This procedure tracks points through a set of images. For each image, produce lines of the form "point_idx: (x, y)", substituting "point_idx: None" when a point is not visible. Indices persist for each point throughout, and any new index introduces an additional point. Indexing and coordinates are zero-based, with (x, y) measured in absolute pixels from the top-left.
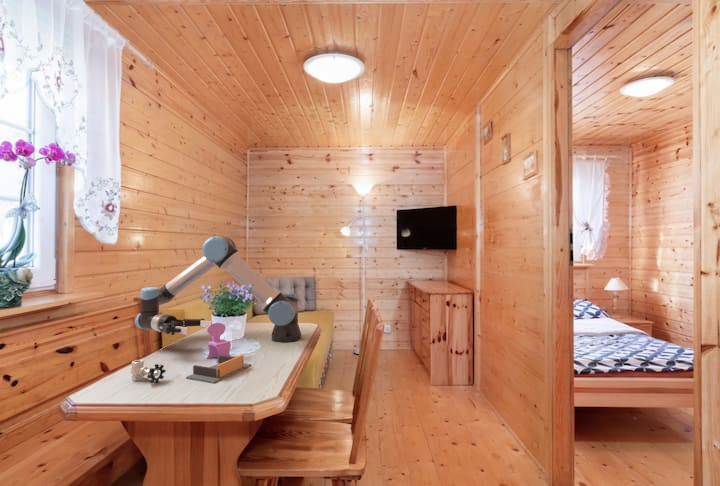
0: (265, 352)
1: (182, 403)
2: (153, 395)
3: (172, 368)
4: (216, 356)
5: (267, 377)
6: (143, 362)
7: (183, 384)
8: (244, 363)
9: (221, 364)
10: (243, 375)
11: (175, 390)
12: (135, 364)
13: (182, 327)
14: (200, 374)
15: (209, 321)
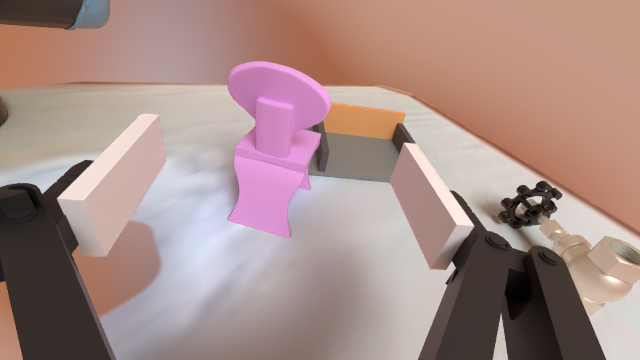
0: (164, 130)
1: (483, 142)
2: None
3: (440, 273)
4: (248, 222)
5: (332, 99)
6: (595, 246)
7: (458, 174)
8: None
9: (393, 111)
10: None
11: (481, 170)
12: (626, 249)
13: (432, 168)
14: None
15: (146, 125)
